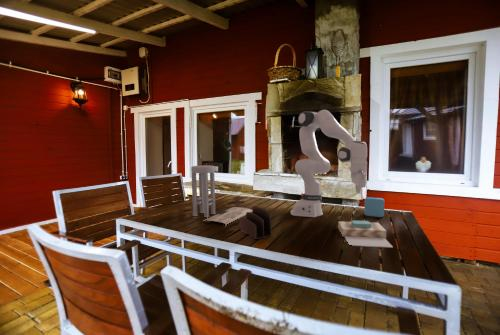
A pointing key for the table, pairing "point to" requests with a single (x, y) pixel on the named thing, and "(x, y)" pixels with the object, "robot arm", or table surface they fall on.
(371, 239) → the mat
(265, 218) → the letter holder
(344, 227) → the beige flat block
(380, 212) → the data package
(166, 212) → the table surface
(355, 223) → the teal flat block
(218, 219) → the grey flat ribbed slab
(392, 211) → the table surface
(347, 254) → the table surface
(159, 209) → the table surface
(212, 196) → the stool
